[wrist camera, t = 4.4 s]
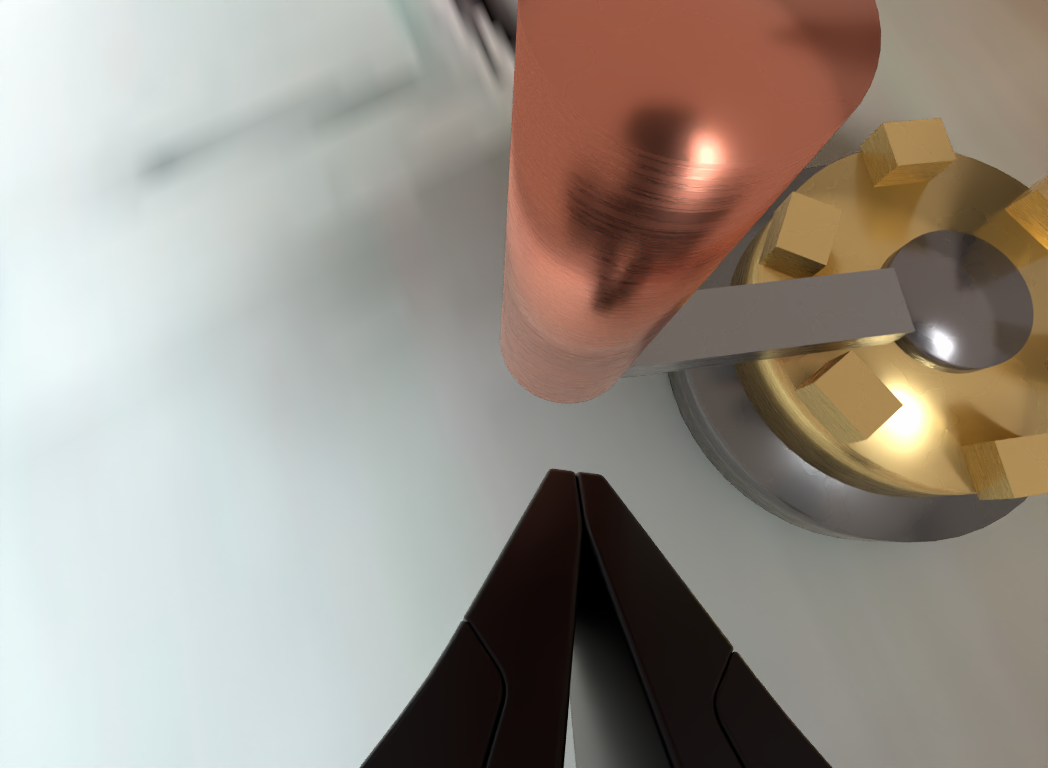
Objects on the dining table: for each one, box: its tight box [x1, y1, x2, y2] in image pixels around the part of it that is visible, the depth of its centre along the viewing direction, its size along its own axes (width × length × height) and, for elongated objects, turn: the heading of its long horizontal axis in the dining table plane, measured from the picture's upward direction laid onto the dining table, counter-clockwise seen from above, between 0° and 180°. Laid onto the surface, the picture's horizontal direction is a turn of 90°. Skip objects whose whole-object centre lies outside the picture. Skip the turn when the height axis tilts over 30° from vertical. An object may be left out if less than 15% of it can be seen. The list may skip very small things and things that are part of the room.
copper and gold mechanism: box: [500, 0, 1048, 500], centre depth 11 cm, size 18×11×12 cm, turn 98°
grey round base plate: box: [668, 166, 1028, 542], centre depth 19 cm, size 13×13×2 cm
